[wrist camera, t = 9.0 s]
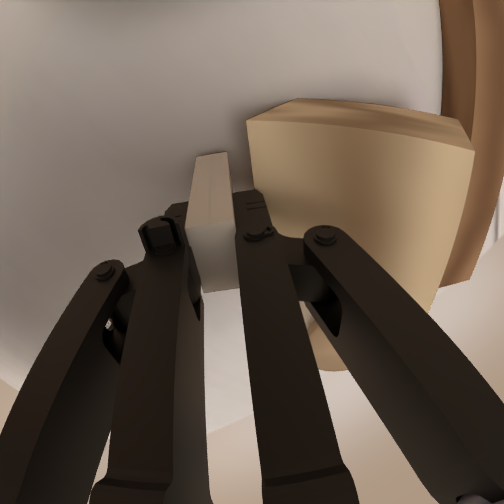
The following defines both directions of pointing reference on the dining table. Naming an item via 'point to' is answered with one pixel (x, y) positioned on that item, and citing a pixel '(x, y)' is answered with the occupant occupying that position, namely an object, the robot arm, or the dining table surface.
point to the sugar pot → (321, 344)
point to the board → (475, 116)
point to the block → (367, 181)
